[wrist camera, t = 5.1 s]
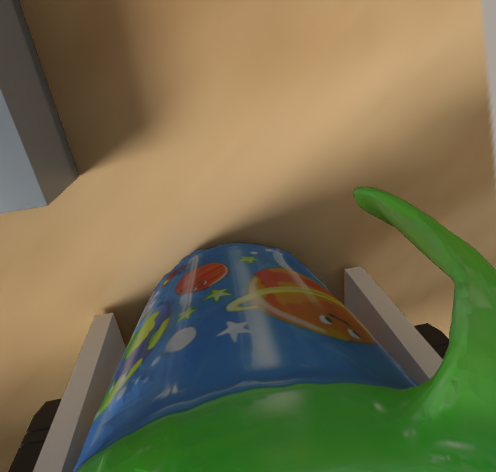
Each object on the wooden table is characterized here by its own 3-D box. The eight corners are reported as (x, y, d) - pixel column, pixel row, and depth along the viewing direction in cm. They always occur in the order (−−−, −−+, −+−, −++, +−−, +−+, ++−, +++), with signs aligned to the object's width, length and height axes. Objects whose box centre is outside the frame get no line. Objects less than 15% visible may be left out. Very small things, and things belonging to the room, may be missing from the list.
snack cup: (221, 450, 19) (248, 784, 10) (34, 379, 16) (-188, 815, 6) (434, 245, 16) (775, 488, 7) (256, 83, 12) (482, 122, 3)
